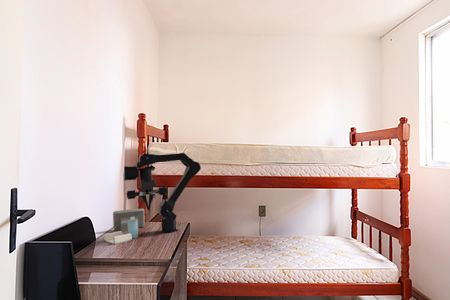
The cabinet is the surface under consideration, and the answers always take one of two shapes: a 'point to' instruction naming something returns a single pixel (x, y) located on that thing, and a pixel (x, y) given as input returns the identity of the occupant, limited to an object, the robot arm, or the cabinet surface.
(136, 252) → the cabinet surface
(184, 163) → the robot arm
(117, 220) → the digital clock
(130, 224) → the bottle
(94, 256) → the cabinet surface
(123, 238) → the u rest
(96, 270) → the cabinet surface
